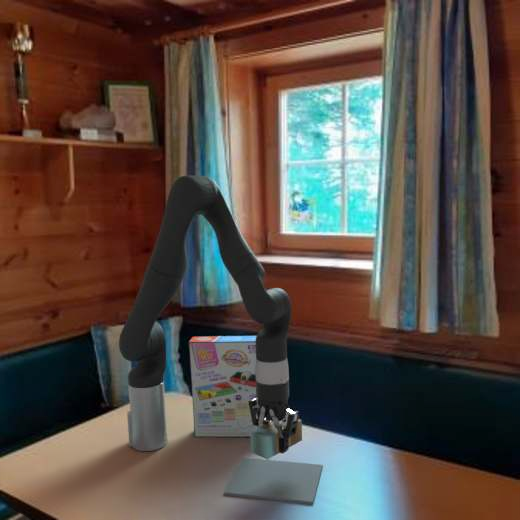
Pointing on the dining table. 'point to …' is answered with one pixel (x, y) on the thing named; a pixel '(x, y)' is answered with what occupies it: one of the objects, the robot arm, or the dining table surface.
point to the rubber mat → (275, 480)
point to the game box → (223, 385)
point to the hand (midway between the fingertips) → (274, 448)
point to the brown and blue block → (271, 439)
